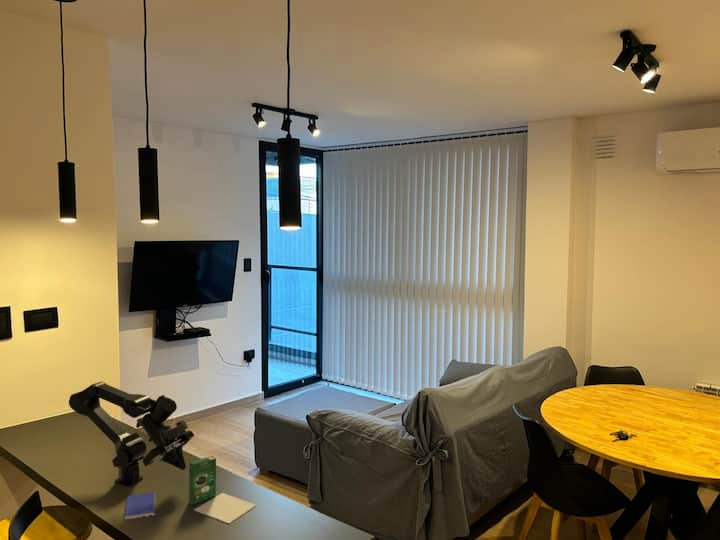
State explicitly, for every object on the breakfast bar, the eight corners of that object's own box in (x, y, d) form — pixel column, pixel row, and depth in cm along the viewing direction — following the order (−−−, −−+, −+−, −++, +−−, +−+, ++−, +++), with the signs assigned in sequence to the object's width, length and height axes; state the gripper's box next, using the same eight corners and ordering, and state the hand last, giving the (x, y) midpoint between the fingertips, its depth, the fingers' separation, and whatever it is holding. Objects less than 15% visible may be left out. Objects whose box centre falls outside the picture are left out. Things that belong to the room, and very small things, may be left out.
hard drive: (154, 511, 164) (155, 492, 176) (124, 516, 162) (127, 495, 173) (154, 516, 164) (155, 496, 176) (124, 521, 162) (127, 500, 173)
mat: (194, 510, 167) (194, 509, 167) (222, 493, 178) (222, 492, 178) (229, 524, 160) (229, 523, 160) (256, 505, 171) (256, 504, 171)
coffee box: (212, 493, 178) (212, 454, 176) (216, 497, 175) (216, 457, 174) (188, 501, 172) (188, 461, 171) (192, 505, 170) (192, 464, 169)
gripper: (149, 425, 167) (179, 467, 164) (189, 406, 185) (217, 443, 182) (129, 446, 171) (158, 487, 168) (171, 425, 188) (198, 462, 185)
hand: (184, 468), depth 176 cm, fingers closed
